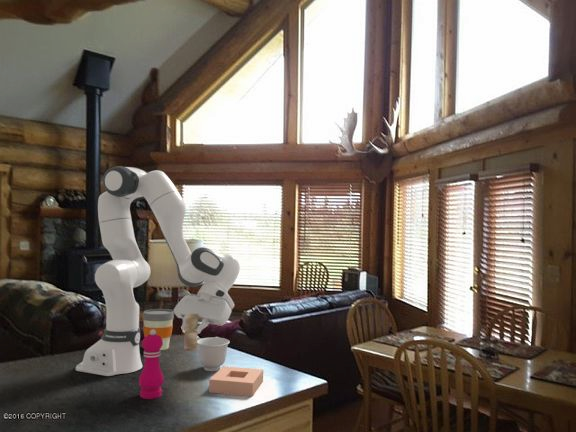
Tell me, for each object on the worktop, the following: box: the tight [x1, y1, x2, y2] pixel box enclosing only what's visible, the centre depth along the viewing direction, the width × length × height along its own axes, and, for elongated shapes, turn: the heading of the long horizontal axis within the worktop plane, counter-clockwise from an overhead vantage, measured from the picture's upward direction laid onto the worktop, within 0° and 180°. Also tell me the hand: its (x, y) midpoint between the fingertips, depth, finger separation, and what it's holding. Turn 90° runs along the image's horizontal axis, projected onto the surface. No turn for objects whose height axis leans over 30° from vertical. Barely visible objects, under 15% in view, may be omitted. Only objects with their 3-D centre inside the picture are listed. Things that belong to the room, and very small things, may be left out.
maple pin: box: [183, 314, 199, 352], centre depth 153 cm, size 4×4×11 cm
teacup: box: [197, 336, 230, 372], centre depth 175 cm, size 12×15×10 cm
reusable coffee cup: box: [142, 308, 175, 351], centre depth 200 cm, size 13×13×15 cm
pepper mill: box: [138, 329, 164, 400], centre depth 146 cm, size 7×7×20 cm
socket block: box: [208, 365, 264, 397], centre depth 156 cm, size 14×14×4 cm
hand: (189, 330), depth 153 cm, fingers closed on maple pin, 4 cm apart
